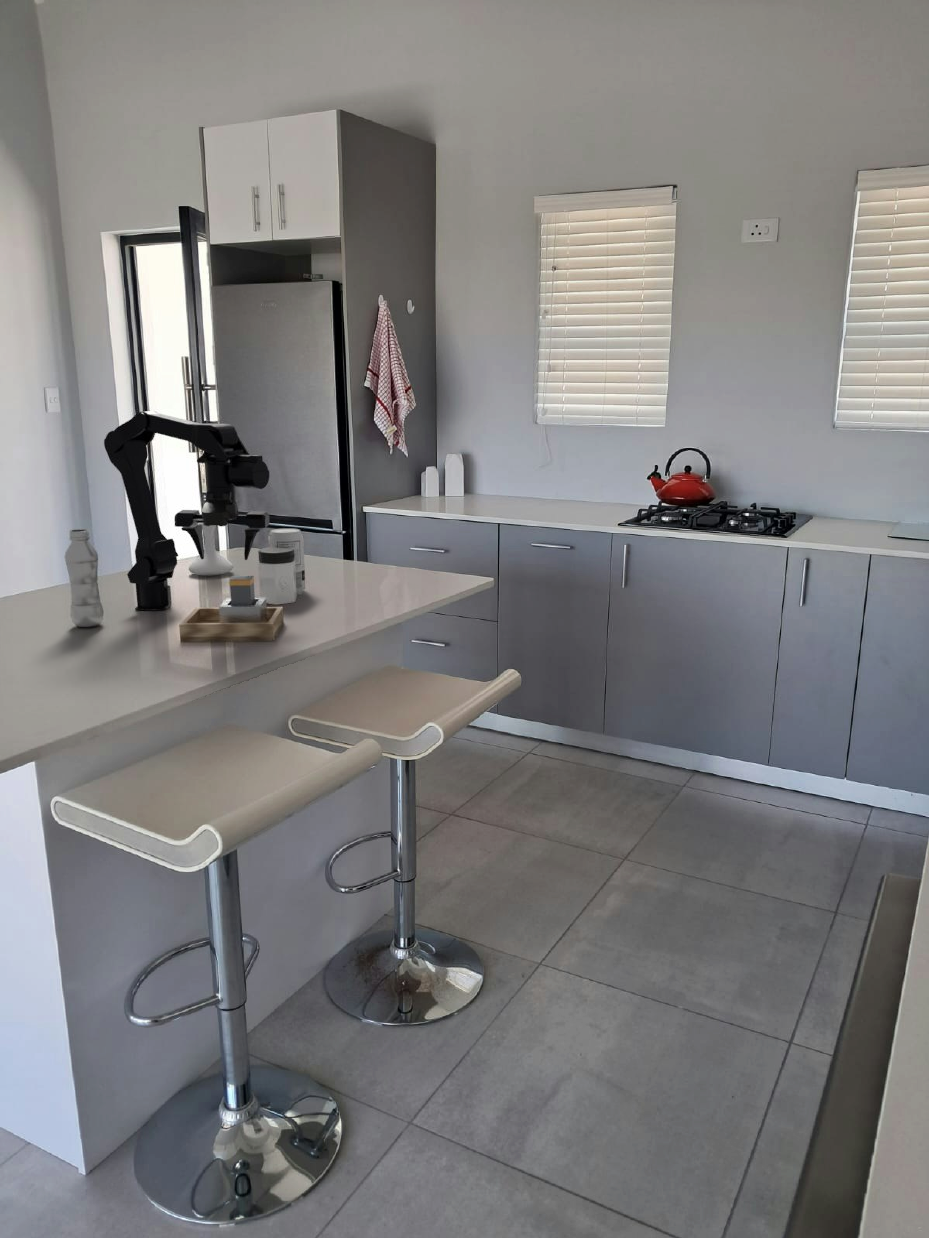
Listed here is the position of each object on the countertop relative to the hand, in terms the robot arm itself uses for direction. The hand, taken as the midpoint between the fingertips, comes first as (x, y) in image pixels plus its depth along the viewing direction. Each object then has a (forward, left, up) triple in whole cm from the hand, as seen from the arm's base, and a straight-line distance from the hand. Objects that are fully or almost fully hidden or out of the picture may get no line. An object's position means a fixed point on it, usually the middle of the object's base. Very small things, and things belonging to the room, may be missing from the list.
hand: (224, 559), depth 197 cm
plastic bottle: (-27, -7, -13) cm, 31 cm away
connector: (+6, -12, -10) cm, 16 cm away
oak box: (+4, -13, -13) cm, 18 cm away
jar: (+9, +15, -13) cm, 22 cm away
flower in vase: (-13, +47, -13) cm, 51 cm away
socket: (+6, -12, -13) cm, 18 cm away
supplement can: (+10, +24, -13) cm, 29 cm away
